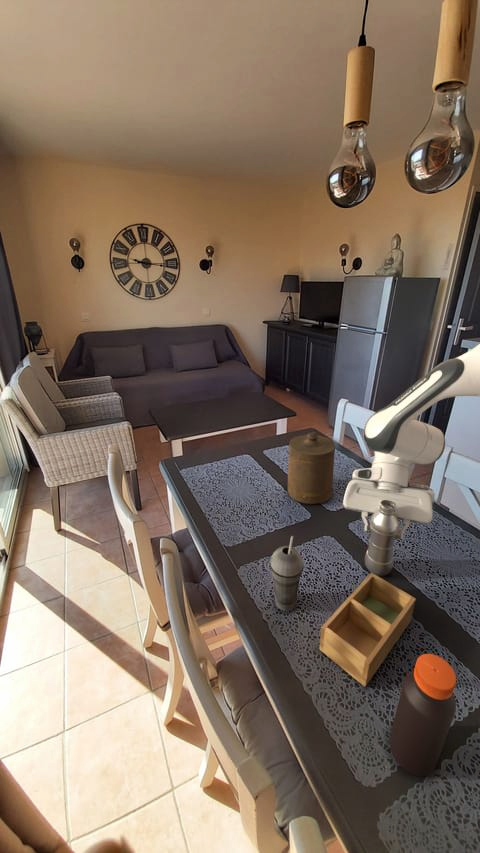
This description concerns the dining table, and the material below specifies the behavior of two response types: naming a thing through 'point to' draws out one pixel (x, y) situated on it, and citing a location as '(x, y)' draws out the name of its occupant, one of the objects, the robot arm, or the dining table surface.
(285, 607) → the beverage cup
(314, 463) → the wooden container
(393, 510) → the silver metal bottle
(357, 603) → the divided wooden box
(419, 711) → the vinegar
